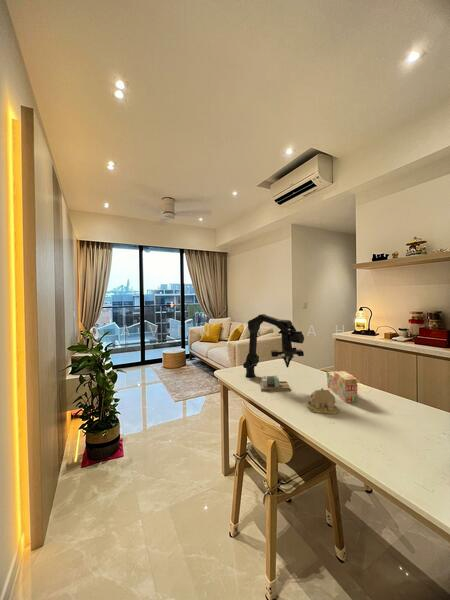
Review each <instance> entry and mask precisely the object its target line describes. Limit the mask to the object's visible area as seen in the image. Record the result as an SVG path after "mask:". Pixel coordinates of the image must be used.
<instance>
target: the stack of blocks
mask: <svg viewBox="0 0 450 600" xmlns="http://www.w3.org/2000/svg"><path fill="white" fill-rule="evenodd" d="M326 379H327V380H326V382H327V384H326V385H327V386H326V387H327V388H328V390H329V391H331V392H333V393H334V394H335V395H337V397H339V399H341V400H342V402H345V403H348V404H349V403H358V378H356V377H355V376H354V375H352V374H350V373H348V372H347V371H345V370H342V371H341V370H340V371H326Z"/></svg>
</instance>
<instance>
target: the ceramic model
mask: <svg viewBox="0 0 450 600" xmlns="http://www.w3.org/2000/svg"><path fill="white" fill-rule="evenodd" d="M336 402H337V401H336V397H335V395H334V394H333V393H332V392H330V389H324V388H323V387H321V388H320V389H316V390H315V389H314V391H313V392H311V394H310V400H306V408H307V410H309V411H310V412H313V413H318V414H319V413H322V414H329V415H333V414H334V415H335V414H337V413H340V410H339V407H337V406H336V405H335V403H336Z"/></svg>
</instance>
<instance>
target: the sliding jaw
mask: <svg viewBox="0 0 450 600" xmlns="http://www.w3.org/2000/svg"><path fill="white" fill-rule="evenodd" d="M273 376H274V384H275V387H279V381H280V379H279V376H278V375H273Z"/></svg>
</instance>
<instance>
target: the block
mask: <svg viewBox="0 0 450 600" xmlns="http://www.w3.org/2000/svg"><path fill="white" fill-rule="evenodd" d="M274 376H275V375H272V376H271V375H267V376H266V379H267V386H268V387H275V384H274Z"/></svg>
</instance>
